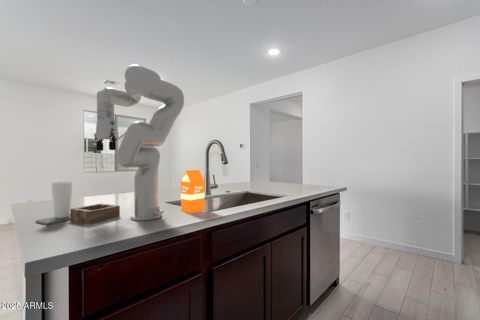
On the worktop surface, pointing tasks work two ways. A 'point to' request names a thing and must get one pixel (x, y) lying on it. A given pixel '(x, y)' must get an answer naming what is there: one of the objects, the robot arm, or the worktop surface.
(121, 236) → the worktop surface
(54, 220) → the charcoal tile coaster
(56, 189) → the drinking glass
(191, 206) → the orange juice
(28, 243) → the worktop surface
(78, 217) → the walnut holder
